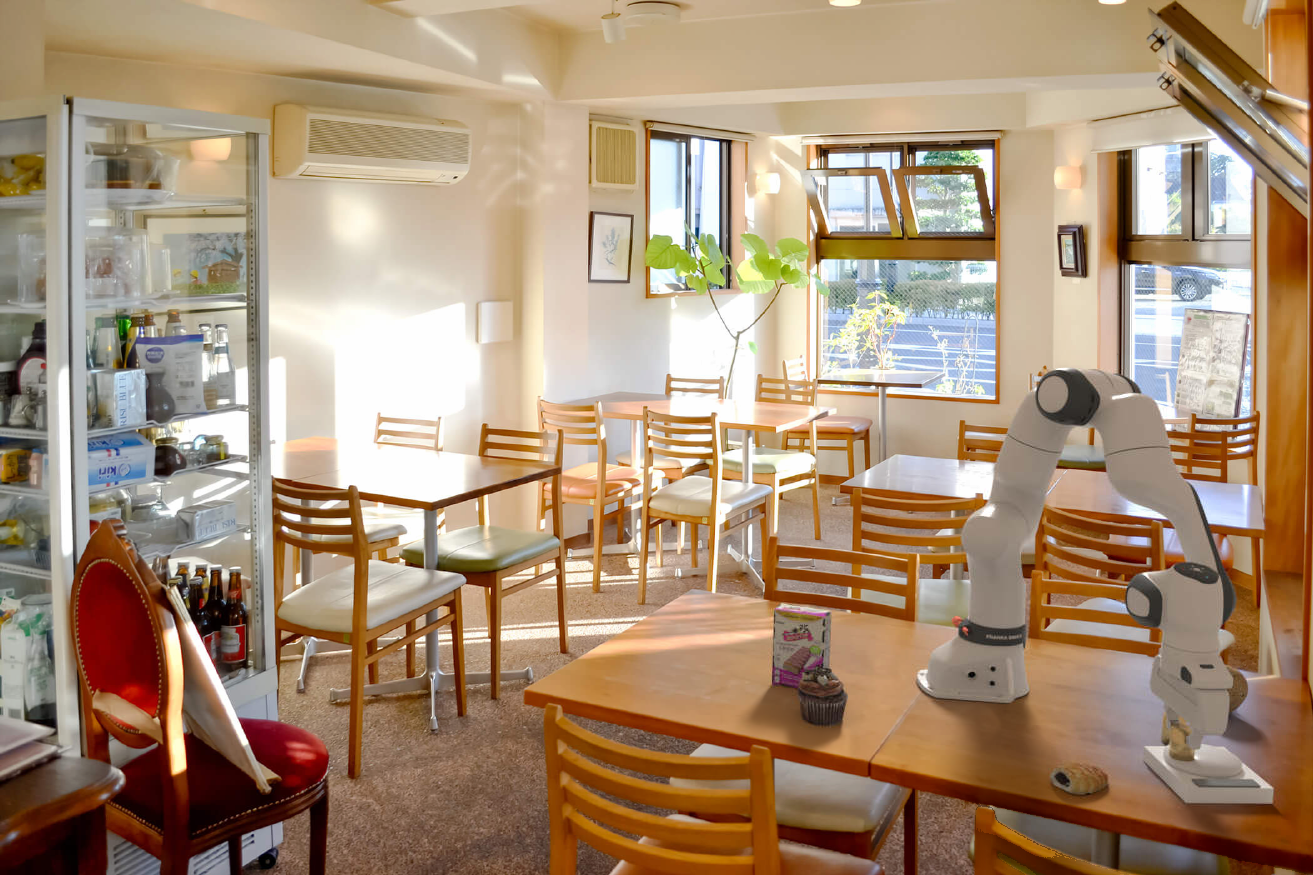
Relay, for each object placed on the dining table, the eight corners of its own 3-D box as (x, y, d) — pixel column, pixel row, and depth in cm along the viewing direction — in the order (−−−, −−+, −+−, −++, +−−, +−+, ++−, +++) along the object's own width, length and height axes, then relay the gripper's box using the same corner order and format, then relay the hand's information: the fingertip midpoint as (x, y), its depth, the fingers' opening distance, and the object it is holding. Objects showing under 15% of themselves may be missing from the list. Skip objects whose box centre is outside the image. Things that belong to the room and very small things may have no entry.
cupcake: (835, 731, 206) (837, 680, 204) (788, 720, 211) (789, 670, 209) (855, 714, 214) (856, 665, 212) (809, 704, 219) (810, 656, 217)
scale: (1185, 802, 179) (1187, 781, 178) (1142, 760, 194) (1144, 740, 194) (1272, 803, 179) (1274, 782, 178) (1222, 760, 194) (1224, 741, 194)
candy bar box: (770, 685, 229) (772, 608, 227) (778, 677, 234) (780, 602, 231) (823, 693, 224) (825, 616, 222) (829, 685, 229) (832, 609, 227)
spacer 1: (1167, 746, 200) (1169, 720, 200) (1157, 737, 204) (1159, 711, 204) (1189, 746, 200) (1191, 720, 200) (1178, 737, 204) (1180, 711, 204)
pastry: (1088, 773, 190) (1090, 752, 189) (1118, 790, 183) (1120, 768, 183) (1045, 782, 186) (1047, 760, 186) (1074, 799, 180) (1076, 777, 179)
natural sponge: (1222, 726, 209) (1226, 676, 208) (1183, 709, 217) (1187, 661, 216) (1255, 719, 213) (1260, 669, 211) (1216, 702, 221) (1220, 655, 220)
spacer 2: (1198, 761, 186) (1201, 733, 185) (1175, 761, 186) (1177, 733, 185) (1187, 751, 190) (1189, 723, 189) (1164, 751, 190) (1166, 723, 189)
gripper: (1143, 640, 195) (1137, 714, 197) (1199, 682, 175) (1192, 764, 177) (1179, 640, 195) (1173, 714, 197) (1239, 682, 175) (1232, 765, 177)
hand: (1182, 738), depth 187 cm, fingers open, 6 cm apart
